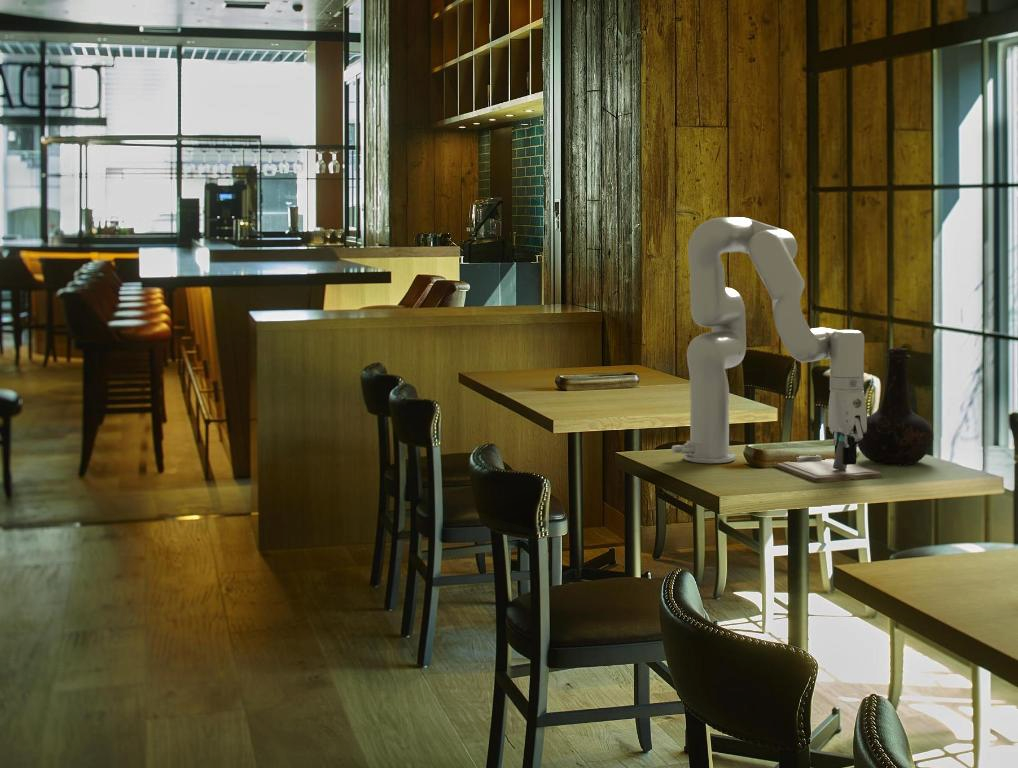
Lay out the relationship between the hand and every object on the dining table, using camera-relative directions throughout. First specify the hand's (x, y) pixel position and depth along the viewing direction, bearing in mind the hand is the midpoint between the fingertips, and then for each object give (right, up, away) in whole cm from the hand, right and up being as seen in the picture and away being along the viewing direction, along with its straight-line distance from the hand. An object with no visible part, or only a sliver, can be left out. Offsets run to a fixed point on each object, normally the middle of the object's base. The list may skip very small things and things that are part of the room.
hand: (845, 462), depth 291 cm
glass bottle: (+16, -1, +15) cm, 22 cm away
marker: (-1, -2, 0) cm, 2 cm away
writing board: (-3, -3, +5) cm, 6 cm away
